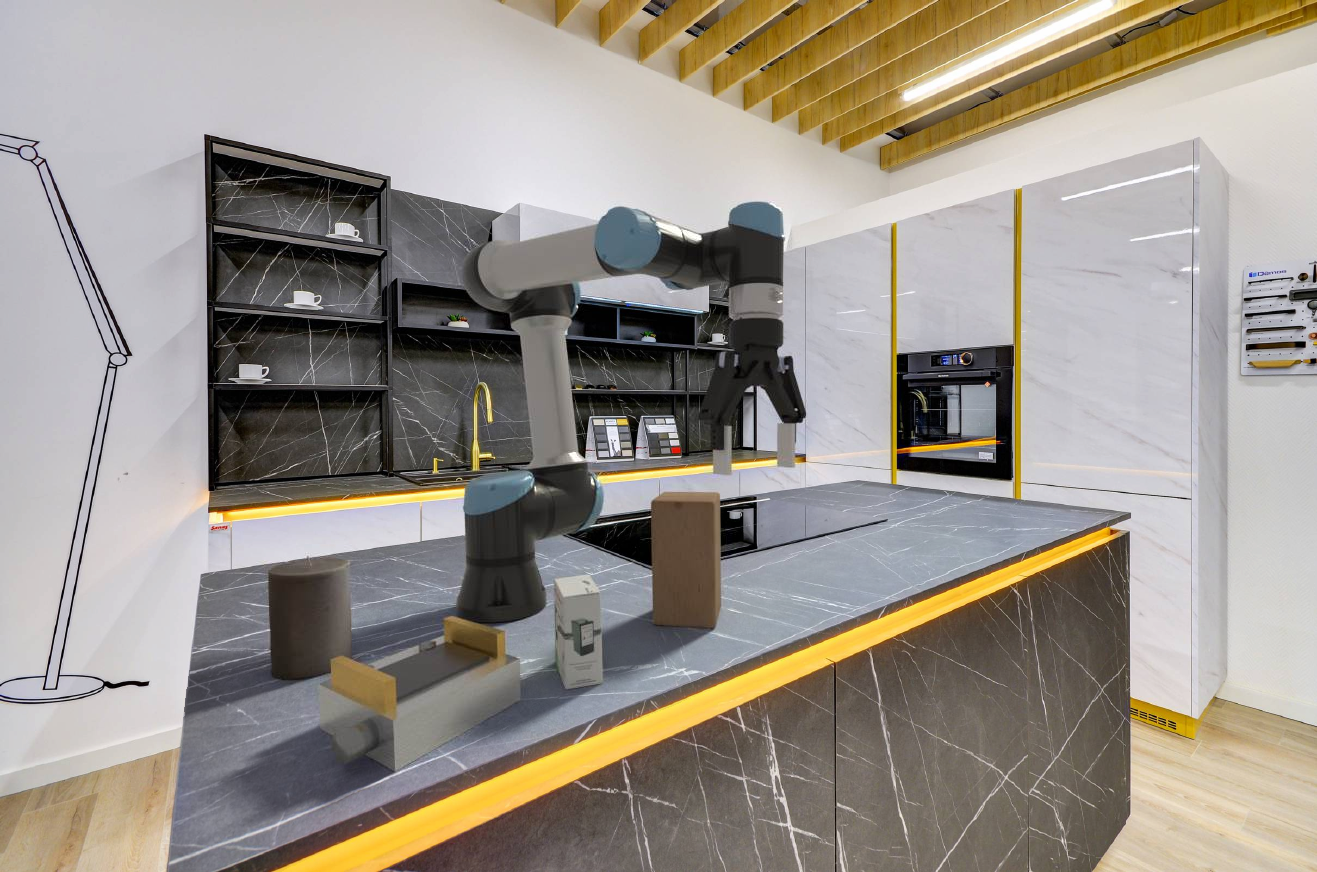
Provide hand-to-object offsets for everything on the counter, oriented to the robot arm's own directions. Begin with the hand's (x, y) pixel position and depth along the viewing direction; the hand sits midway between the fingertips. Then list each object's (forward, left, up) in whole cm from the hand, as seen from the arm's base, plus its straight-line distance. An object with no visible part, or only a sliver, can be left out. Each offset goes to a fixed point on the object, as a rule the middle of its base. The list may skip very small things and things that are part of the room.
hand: (755, 470), depth 82 cm
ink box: (-16, -20, -26) cm, 36 cm away
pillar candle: (-49, -37, -26) cm, 67 cm away
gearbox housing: (-24, -39, -25) cm, 52 cm away
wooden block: (-14, +5, -25) cm, 30 cm away
